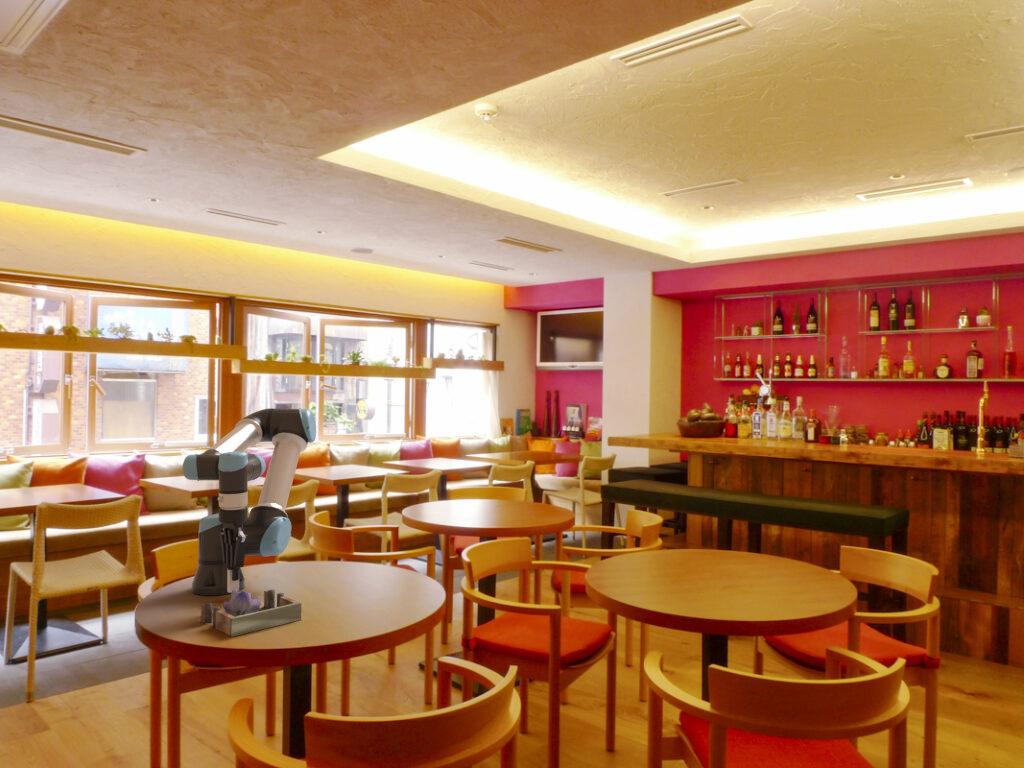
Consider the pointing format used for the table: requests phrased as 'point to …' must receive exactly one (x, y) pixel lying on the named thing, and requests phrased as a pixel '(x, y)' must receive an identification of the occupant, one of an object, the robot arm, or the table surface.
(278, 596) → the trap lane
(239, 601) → the flower
